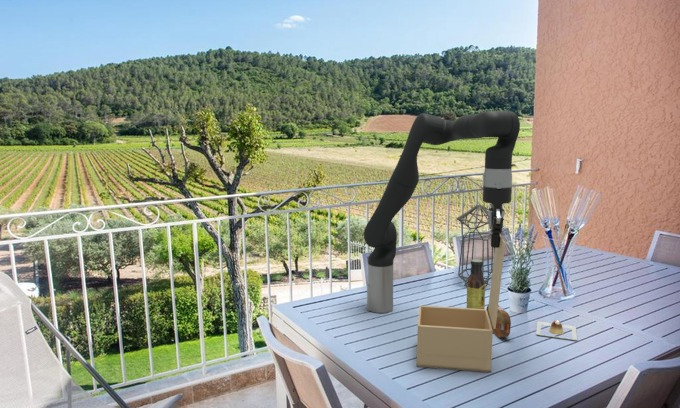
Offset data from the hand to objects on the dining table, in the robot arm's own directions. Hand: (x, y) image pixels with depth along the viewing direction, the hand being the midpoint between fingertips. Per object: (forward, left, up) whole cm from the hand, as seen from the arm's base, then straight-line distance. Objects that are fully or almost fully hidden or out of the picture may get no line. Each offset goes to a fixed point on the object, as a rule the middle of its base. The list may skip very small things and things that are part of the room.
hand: (494, 246), depth 141 cm
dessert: (+23, +25, -34) cm, 48 cm away
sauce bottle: (-2, +36, -34) cm, 49 cm away
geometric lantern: (+1, +71, -34) cm, 79 cm away
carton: (-11, 0, -33) cm, 35 cm away
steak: (+4, +21, -34) cm, 40 cm away
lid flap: (0, 0, -9) cm, 9 cm away
